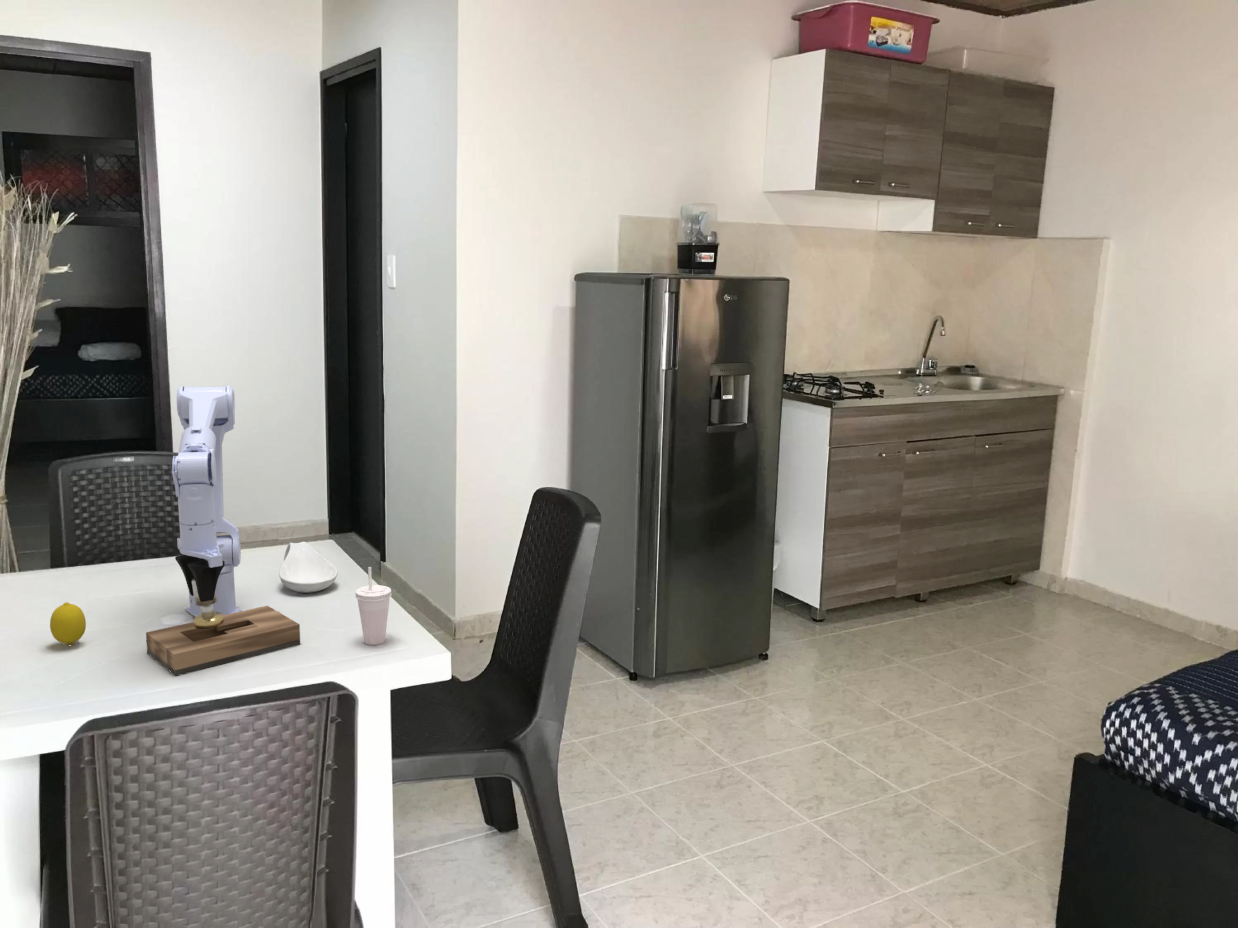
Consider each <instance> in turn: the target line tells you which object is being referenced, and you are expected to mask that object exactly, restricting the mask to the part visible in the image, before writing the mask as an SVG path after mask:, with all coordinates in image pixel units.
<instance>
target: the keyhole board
mask: <svg viewBox="0 0 1238 928" xmlns="http://www.w3.org/2000/svg"><path fill="white" fill-rule="evenodd" d="M223 619H224V622H223V623H222V624H221V625H219V626H217V627H214V628H210V629H197V628H195V626H194V621H192V622H187V623H182V624H178V625H174V626H168V627H164V628H160V629H156V630H151V631H147V632H145V639H146V651H147V652H146V653H147V654H148V655H149V656H150V655H151V656H150V657H151V658H153V657H154V658H155V659H156V660H157V663H159V662H160V663H161V664H162V665H161V664H160V663H159V664H160V665H161V666H163V667H164V668H165V667H166V668H167V669H166V668H165V669H166V670H167V671H169V670H170V671H171V672H172V673H173V674H172V673H171V672H170V671H169V672H170V673H171V674H172V675H173V676H175V675H178V676H180V675H179V674H182V675H184V674H185V673H186V674H189V672H190V673H193V672H197V671H200V670H204V669H209V668H212V667H217V666H219V665H220V666H221V665H225V664H228V663H232V662H236V661H239V660H244V659H247V658H251V657H252V658H253V657H255V656H260V655H265V654H268V653H272V652H275V651H280V650H283V649H286V648H291V647H296V646H299V645H301V631H300V630H301V628H300V627H301V626H300V623H298V622H296V621H295V620H293V619H291V618H290V617H288V616H286V615H285V614H283V613H282V612H279V611H277V610H276V609H274V608H273V607H270V606H269V605H264V606H259V607H256V608H250V609H246V610H243V611H240V612H236V613H231V614H227V615H223ZM154 658H153V659H154ZM155 659H154V660H155ZM156 660H155V661H156ZM186 674H185V675H186Z"/></svg>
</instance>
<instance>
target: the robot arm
mask: <svg viewBox="0 0 1238 928" xmlns="http://www.w3.org/2000/svg"><path fill="white" fill-rule="evenodd" d="M235 402H236V401H235V390H234V388H233V387H232V386H231V385H227V386H183V385H182V386H181V385H180V386H179V388H178V389H177V390H176V411H177V415H178V418H179V421H180V424H181V426H182V428H183V431H182V433H181V436H180V443H179V446H178V447H179V449H178V453H177V454H178V455H173V456H172V462H171V474H172V479H173V483H174V489H175V497H176V498H177V506H178V521H179V537H177V539H176V542H177V543H176V544H177V549H178V550H179V553H180V554H179V555H176V556H175V557H174V559H175V561H176V562H177V564H178V565H179V567H180V569H181V571H182V573H183V576H184V578H185V582H186V585H187V589H188V598H189V601H188V602H189V606H185V608H184V611H186V612H188V613H189V614H191V616H193V617H194V618H195V617H196V616H198V615H200V614H201V607H200V606H197V605H195V601H194V594H193V587H192V578H194V579H195V582H196V587H197V592H198V597H199V599H200V601H201V602H206V601H210V600H213V599H214V595H215V590H216V596H217V602H216V603H214V604H213V610H214V612H221V613H222V614H223V615H227V614H231V613H236V612H240V611H244V610H243V609H241V608H239V607H237V606H236V589H235V588H236V587H235V584H236V583H235V568H236V567H239V565H240V564H241V562H242V561H241V560H242V559H241V558H242V556H241V555H242V552H241V551H242V549H241V547H242V545H241V538H240V529H239V528H238V525H236V524H235V523H233V522H231V521H230V520H228V519H226V518H225V516H224V515H225V514H224V482H223V481H224V479H223V476H224V475H223V441H224V437H225V434H226V433H228V432H230V431H232V430H234V425H235V423H236V420H235V415H236V414H235V412H236V411H235V410H236V408H235V407H236V403H235ZM217 534H224V535H217ZM226 534H227V535H226Z"/></svg>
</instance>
